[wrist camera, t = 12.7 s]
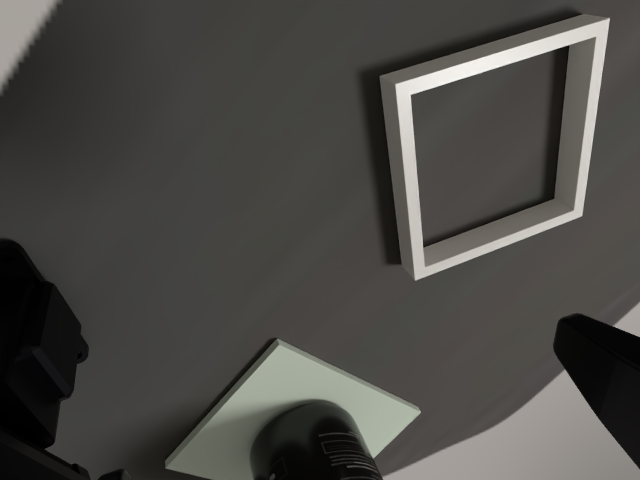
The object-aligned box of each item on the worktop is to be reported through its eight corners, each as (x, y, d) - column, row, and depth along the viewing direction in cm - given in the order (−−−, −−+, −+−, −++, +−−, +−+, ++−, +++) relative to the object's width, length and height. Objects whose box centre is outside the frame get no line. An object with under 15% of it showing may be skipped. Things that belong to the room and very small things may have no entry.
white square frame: (401, 264, 26) (415, 280, 25) (379, 76, 20) (395, 84, 19) (562, 204, 28) (582, 216, 27) (583, 14, 22) (609, 18, 21)
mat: (164, 460, 28) (165, 468, 27) (277, 338, 26) (279, 344, 25) (321, 499, 35) (323, 506, 34) (417, 406, 33) (421, 412, 33)
